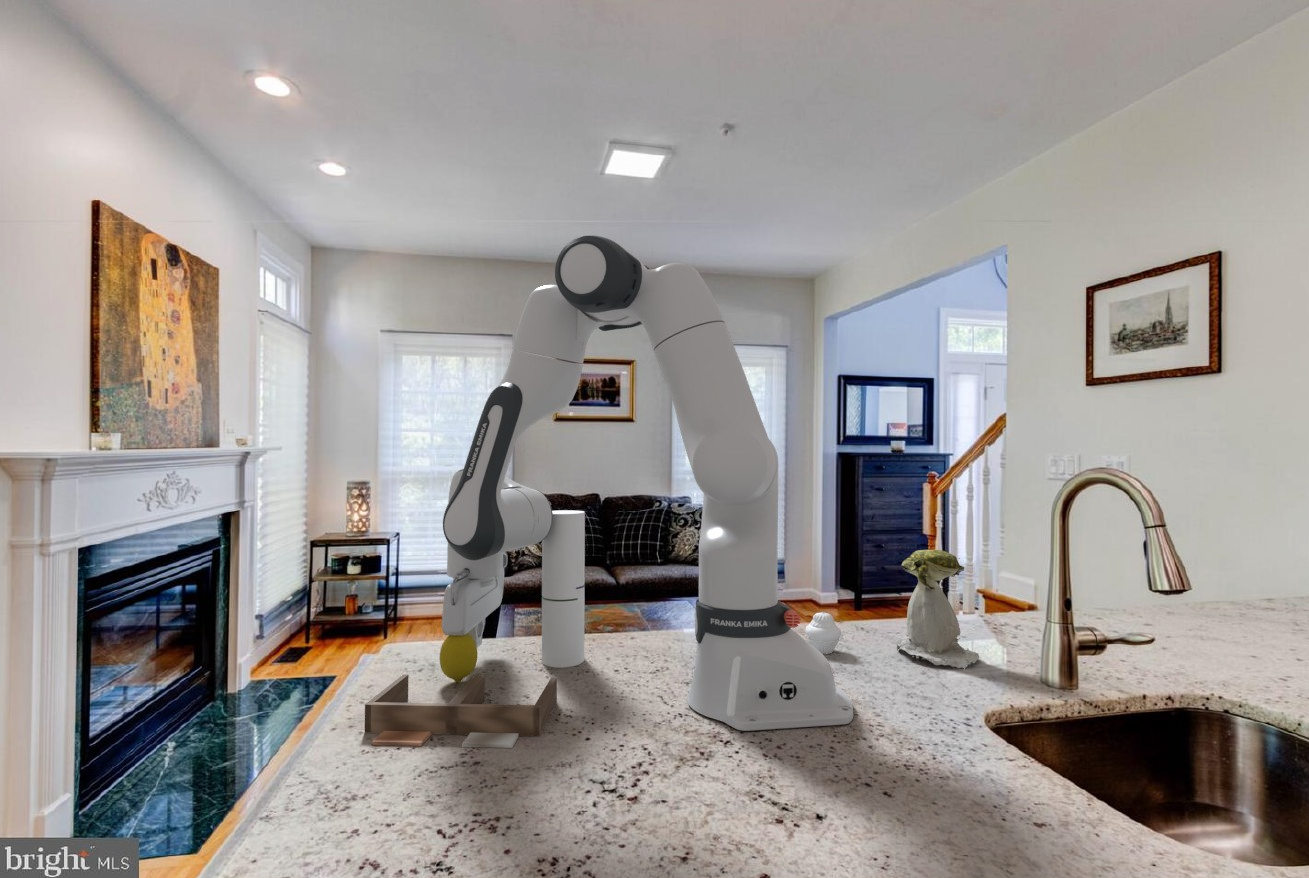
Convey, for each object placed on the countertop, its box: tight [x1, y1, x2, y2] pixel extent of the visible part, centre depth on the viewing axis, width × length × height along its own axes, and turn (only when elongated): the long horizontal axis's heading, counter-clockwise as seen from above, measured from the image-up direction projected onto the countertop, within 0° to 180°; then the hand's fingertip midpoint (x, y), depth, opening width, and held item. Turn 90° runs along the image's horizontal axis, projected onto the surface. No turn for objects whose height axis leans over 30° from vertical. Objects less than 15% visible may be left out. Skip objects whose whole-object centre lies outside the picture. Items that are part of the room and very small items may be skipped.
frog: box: [896, 549, 980, 669], centre depth 110 cm, size 12×13×18 cm
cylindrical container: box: [541, 509, 586, 668], centre depth 108 cm, size 7×7×25 cm
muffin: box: [804, 611, 842, 654], centre depth 112 cm, size 6×6×7 cm
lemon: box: [439, 633, 478, 683], centre depth 97 cm, size 6×6×8 cm
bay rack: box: [364, 674, 558, 749], centre depth 83 cm, size 22×14×4 cm, turn 87°
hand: (473, 647), depth 105 cm, fingers closed
